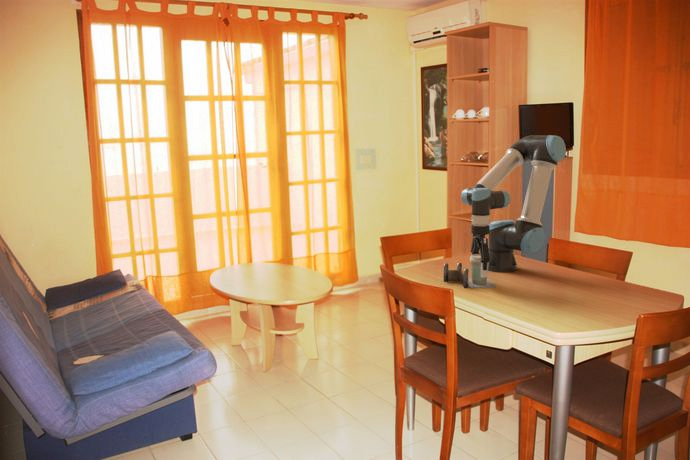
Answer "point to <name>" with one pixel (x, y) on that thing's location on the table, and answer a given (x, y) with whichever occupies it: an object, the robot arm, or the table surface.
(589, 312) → the table surface
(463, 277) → the rail
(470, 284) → the coaster
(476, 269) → the coffee cup
